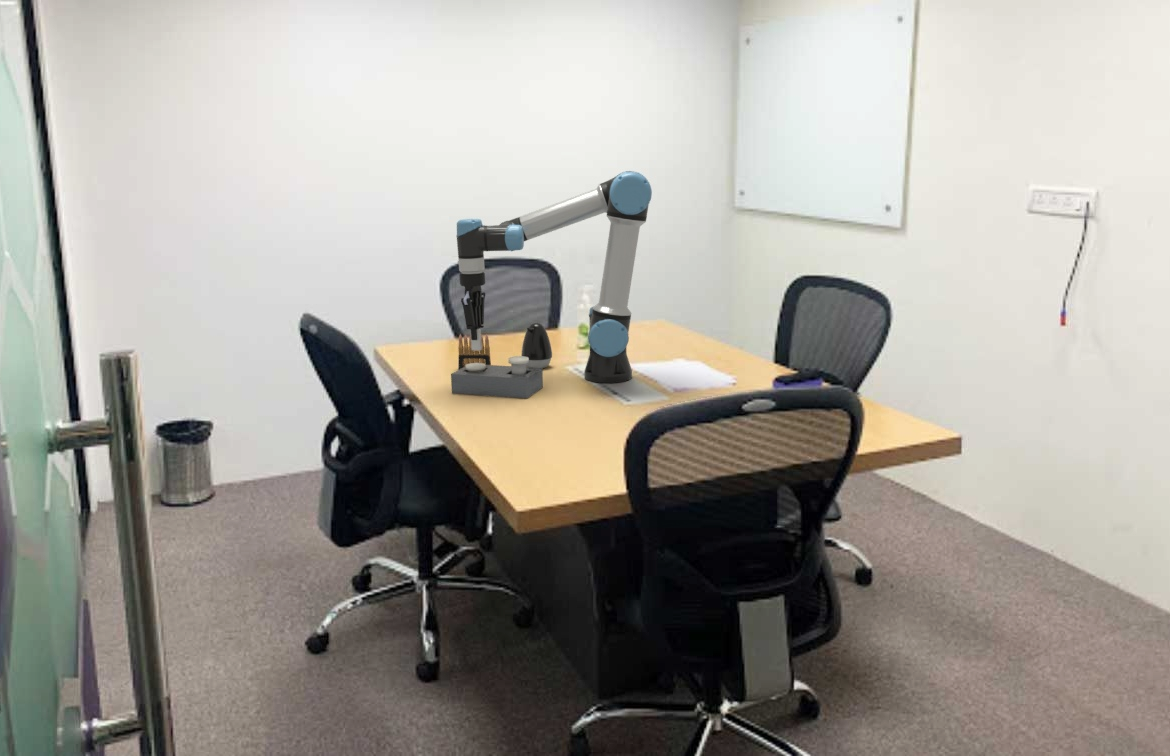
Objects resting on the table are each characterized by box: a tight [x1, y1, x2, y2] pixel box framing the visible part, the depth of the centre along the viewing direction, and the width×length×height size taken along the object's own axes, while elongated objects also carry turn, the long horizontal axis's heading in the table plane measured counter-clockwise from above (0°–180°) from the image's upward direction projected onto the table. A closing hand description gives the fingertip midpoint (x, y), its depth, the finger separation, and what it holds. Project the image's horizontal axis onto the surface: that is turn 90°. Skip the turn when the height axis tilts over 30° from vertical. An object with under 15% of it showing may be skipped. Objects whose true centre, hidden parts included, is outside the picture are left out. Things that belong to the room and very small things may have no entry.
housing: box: [450, 364, 544, 399], centre depth 283 cm, size 24×14×6 cm, turn 73°
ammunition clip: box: [457, 333, 492, 370], centre depth 310 cm, size 11×2×12 cm, turn 85°
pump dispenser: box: [521, 322, 553, 369], centre depth 311 cm, size 10×10×15 cm
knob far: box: [466, 362, 486, 372], centre depth 285 cm, size 6×6×7 cm
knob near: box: [508, 355, 529, 375], centre depth 280 cm, size 6×6×7 cm
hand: (476, 349), depth 283 cm, fingers closed
